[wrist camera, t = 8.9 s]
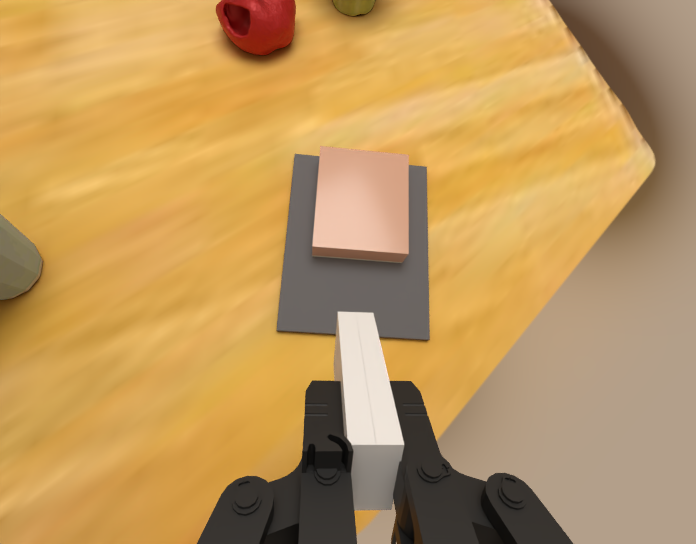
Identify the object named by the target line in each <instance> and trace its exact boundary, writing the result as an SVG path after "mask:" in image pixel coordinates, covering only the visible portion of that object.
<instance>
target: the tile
mask: <svg viewBox="0 0 696 544" xmlns="http://www.w3.org/2000/svg"><path fill="white" fill-rule="evenodd" d="M408 254H409V155H404V154H394V153H384V152H374V151H364V150H354V149H344V148H334V147H324V146H320V158H319V170H318V183H317V195H316V207H315V220H314V232H313V244H312V256H315V257H328V258H341V259H354V260H367V261H380V262H393V263H402V262H403V261H404V260H405V258H406V257H407V256H408Z"/></svg>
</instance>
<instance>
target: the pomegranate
mask: <svg viewBox="0 0 696 544" xmlns="http://www.w3.org/2000/svg"><path fill="white" fill-rule="evenodd" d="M216 13H217V16H218V19H219V21H220V23H221V25H222V27H223V30H224V32H225V33H226V34H227V36H228V37H229V38H230V40H231V41H232V42H233V43H234V44H235V45H237V46H238V47H239V48H240V49H242V50H244V51H246V52H249V53H252V54H255V55H268V54H270V53H271V52H272V51H274V50H276V49H278V48H284V47H286V46H287V45H288V44H289V43H290V42H291V41H292V39H293V36H294V26H295V14H296V5H295V0H221V2H219V3H218V4H217V6H216Z"/></svg>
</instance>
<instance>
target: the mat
mask: <svg viewBox="0 0 696 544" xmlns="http://www.w3.org/2000/svg"><path fill="white" fill-rule="evenodd" d="M319 158H320V156H311V155H301V154H295V158H294V168H293V177H292V187H291V196H290V206H289V216H288V225H287V235H286V244H285V254H284V264H283V273H282V283H281V293H280V302H279V312H278V321H277V331H284V332H301V333H317V334H333V335H336V328H337V315H338V312H366V313H374V318H375V322H376V326H377V330H378V335H379V337H382V338H398V339H415V340H430V336H429V280H428V223H427V167H423V166H413V165H409V254H408V256H407V257H406V258H405V260H404V261H403V262H402V263H393V262H380V261H367V260H354V259H341V258H328V257H315V256H312V244H313V232H314V220H315V207H316V195H317V183H318V170H319Z"/></svg>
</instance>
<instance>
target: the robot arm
mask: <svg viewBox="0 0 696 544" xmlns="http://www.w3.org/2000/svg"><path fill="white" fill-rule="evenodd" d="M334 380H335V381H312V382H311V383H310V385H309V387H308V388H307V390H306V396H305V417H304V438H303V451H302V459H301V461H300V463H299V465H298V466H297V468H296V469H295V470H294V471H293V472H291V473H290V474H289V475H287V476H285V477H283V478H281V479H278V480H275V481H272V482H269V483H268V482H267V481H266V480H264V479H262V478H260V477H257V476H246V477H242V478H239V479H237V480H235V481H234V482H232V483H231V484H230V485H228V486H227V488H226V489H225V490H224V492H223V493H222V494H221V496H220V498H219V500H218V502H217V504H216V506H215V508H214V510H213V512H212V514H211V516H210V518H209V520H208V522H207V524H206V526H205V528H204V530H203V532H202V534H201V536H200V538H199V540H198V542H197V544H357V538H356V526H355V514H354V510H391V509H392V504H393V499H394V504H395V510H396V519H395V524H394V528H393V533H392V538H391V544H396V542H397V544H573V543H572V541H571V540H570V539H569V537H568V536H567V535H566V533H565V532H564V531H563V530H562V528H561V527H560V526H559V524H558V523H557V522H556V521H555V519H554V518H553V517H552V515H551V514H550V513H549V511H548V510H547V509H546V507H545V506H544V505H543V504H542V502H541V501H540V500H539V498H538V497H537V496H536V494H535V493H534V492H533V491H532V489H531V488H529V486H528V485H527V484H526V483H525V482H524V481H522V480H520V479H519V478H517V477H515V476H513V475H510V474H506V473H495V474H494V475H492V476H490V477H489V478H488V480H487V482H486V481H482V480H479V479H476V478H472V477H469V476H466V475H464V474H461V473H459V472H457V471H456V470H454V469H453V468H452V467H451V465H450V463H449V462H447V461H446V460H445V459H444V458H443V457H442V455H441V453H440V451H439V448H438V445H437V442H436V439H435V436H434V433H433V429H432V426H431V423H430V420H429V417H428V416H427V411H426V408H425V406H424V402H423V399H422V396H421V393H420V391H419V390H418V389H417V387H416V386H415V385H414V384H413V383H412V382H411V381H389V377H388V373H387V369H386V365H385V360H384V356H383V352H382V347H381V343H380V339H379V335H378V330H377V326H376V322H375V318H374V313H366V312H338V315H337V328H336V341H335V354H334Z"/></svg>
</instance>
